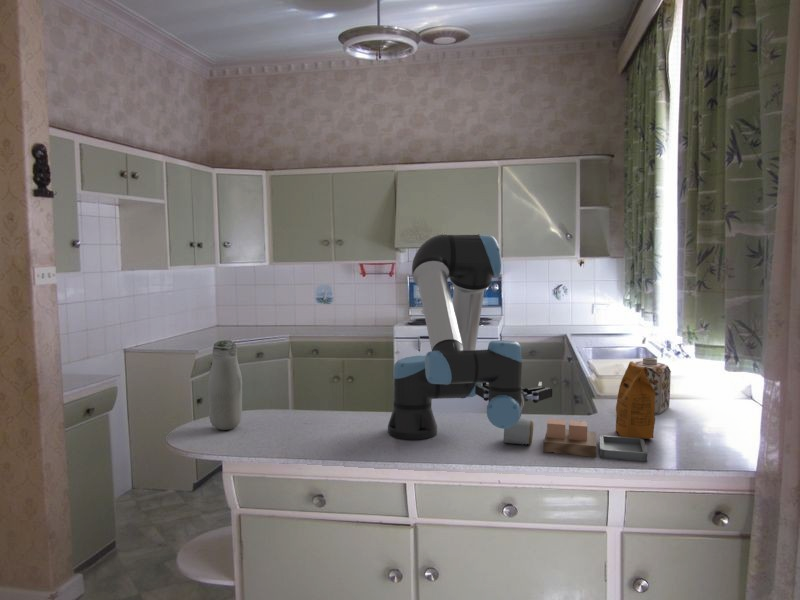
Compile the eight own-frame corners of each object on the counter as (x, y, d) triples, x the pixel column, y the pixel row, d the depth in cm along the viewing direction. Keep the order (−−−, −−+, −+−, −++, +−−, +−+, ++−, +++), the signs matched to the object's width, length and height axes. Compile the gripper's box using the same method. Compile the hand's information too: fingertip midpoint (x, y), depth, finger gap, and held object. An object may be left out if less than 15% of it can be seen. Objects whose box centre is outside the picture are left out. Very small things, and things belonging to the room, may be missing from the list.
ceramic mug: (532, 448, 182) (532, 421, 181) (503, 446, 184) (503, 419, 183) (533, 438, 192) (534, 412, 191) (506, 436, 194) (506, 411, 193)
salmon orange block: (568, 439, 180) (568, 425, 180) (569, 434, 185) (569, 420, 185) (587, 440, 179) (587, 426, 179) (587, 435, 184) (587, 421, 183)
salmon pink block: (546, 437, 182) (547, 423, 182) (548, 432, 187) (548, 418, 186) (564, 438, 181) (565, 424, 180) (565, 433, 185) (565, 420, 185)
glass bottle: (205, 433, 195) (203, 343, 193) (216, 424, 206) (213, 338, 203) (237, 433, 195) (235, 343, 193) (246, 424, 205) (244, 338, 203)
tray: (599, 457, 174) (600, 449, 174) (599, 442, 187) (599, 434, 187) (647, 461, 170) (647, 453, 170) (643, 445, 184) (643, 438, 184)
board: (543, 452, 178) (543, 441, 178) (547, 437, 192) (547, 427, 191) (596, 456, 174) (596, 446, 174) (595, 441, 187) (596, 431, 187)
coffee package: (643, 429, 200) (645, 360, 198) (657, 442, 187) (660, 368, 186) (611, 429, 200) (613, 360, 198) (623, 441, 188) (625, 367, 186)
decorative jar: (626, 409, 225) (627, 358, 224) (636, 402, 234) (638, 354, 233) (661, 414, 218) (663, 362, 216) (670, 407, 227) (672, 357, 226)
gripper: (458, 413, 160) (470, 397, 181) (560, 418, 154) (561, 401, 175) (458, 383, 160) (470, 370, 181) (561, 387, 154) (561, 373, 174)
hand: (515, 385), depth 178 cm, fingers open, 13 cm apart
